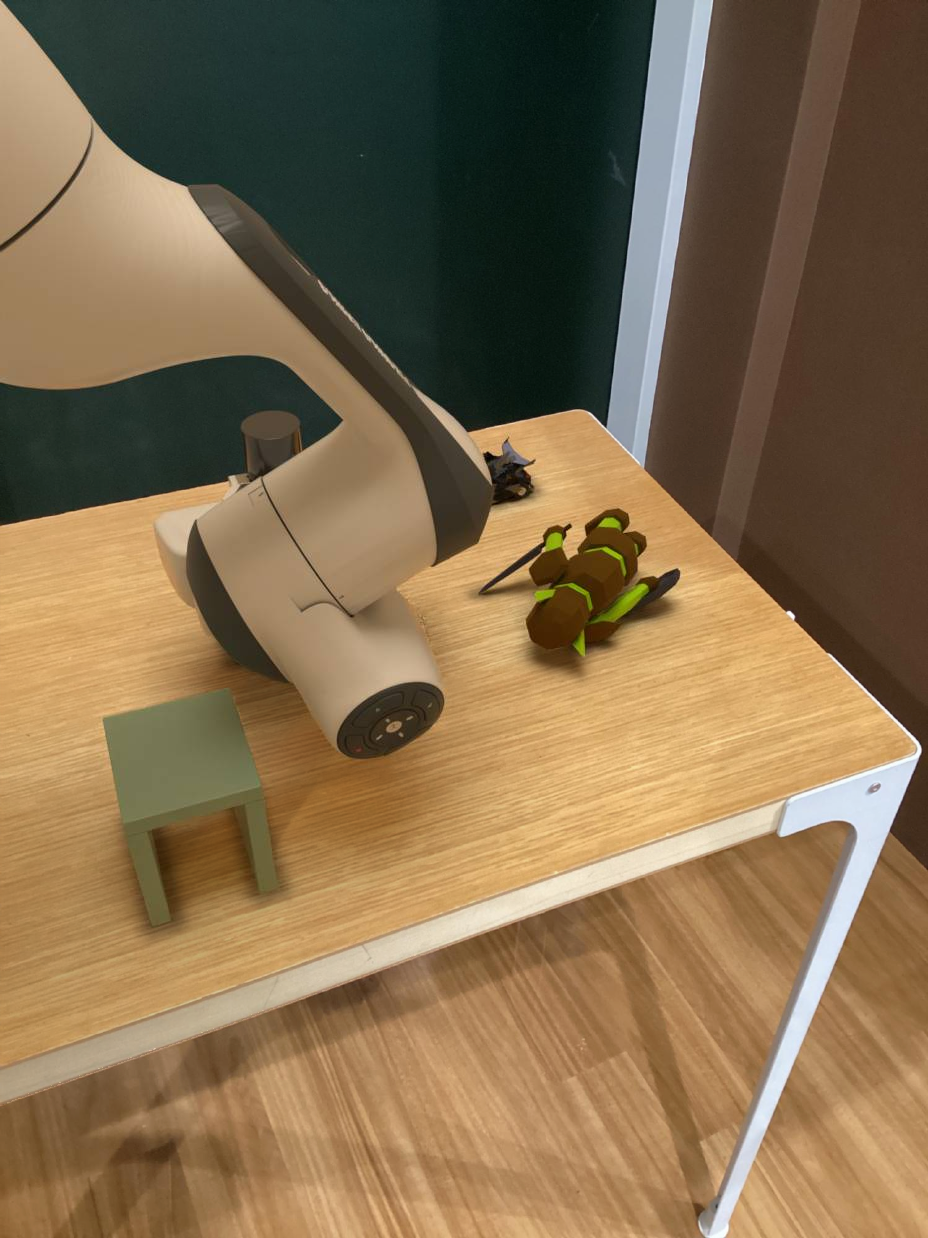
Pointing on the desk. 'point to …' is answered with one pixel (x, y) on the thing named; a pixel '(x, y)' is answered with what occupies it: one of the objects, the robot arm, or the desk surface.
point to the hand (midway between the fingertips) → (273, 475)
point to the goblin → (587, 583)
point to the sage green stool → (185, 782)
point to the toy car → (508, 473)
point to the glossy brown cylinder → (269, 441)
